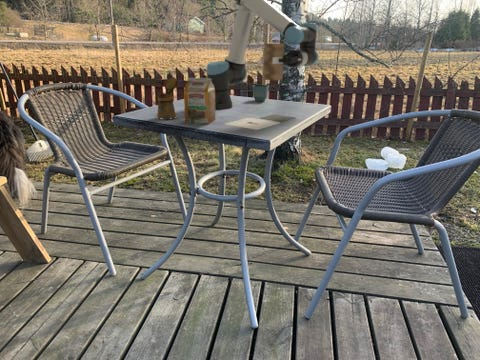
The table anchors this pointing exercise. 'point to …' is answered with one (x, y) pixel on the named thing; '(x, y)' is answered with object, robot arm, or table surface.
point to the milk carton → (199, 101)
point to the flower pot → (260, 92)
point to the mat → (278, 118)
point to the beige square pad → (252, 123)
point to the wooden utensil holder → (167, 100)
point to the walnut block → (271, 69)
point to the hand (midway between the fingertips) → (266, 60)
